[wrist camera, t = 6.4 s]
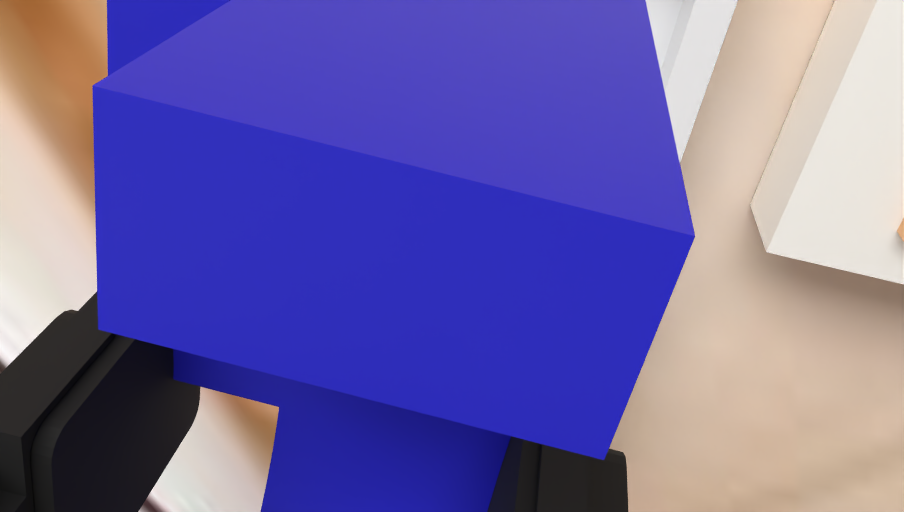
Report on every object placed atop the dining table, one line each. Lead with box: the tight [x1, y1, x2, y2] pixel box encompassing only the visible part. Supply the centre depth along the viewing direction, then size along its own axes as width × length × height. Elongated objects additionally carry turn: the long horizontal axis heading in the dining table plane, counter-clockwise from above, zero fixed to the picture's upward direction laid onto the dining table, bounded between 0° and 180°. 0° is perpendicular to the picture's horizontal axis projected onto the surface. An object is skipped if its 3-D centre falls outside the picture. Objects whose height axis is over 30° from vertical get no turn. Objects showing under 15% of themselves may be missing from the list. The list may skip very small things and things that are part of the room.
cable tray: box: [645, 0, 738, 162], centre depth 25 cm, size 10×18×2 cm, turn 169°
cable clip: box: [93, 0, 695, 512], centre depth 10 cm, size 12×4×6 cm, turn 168°
